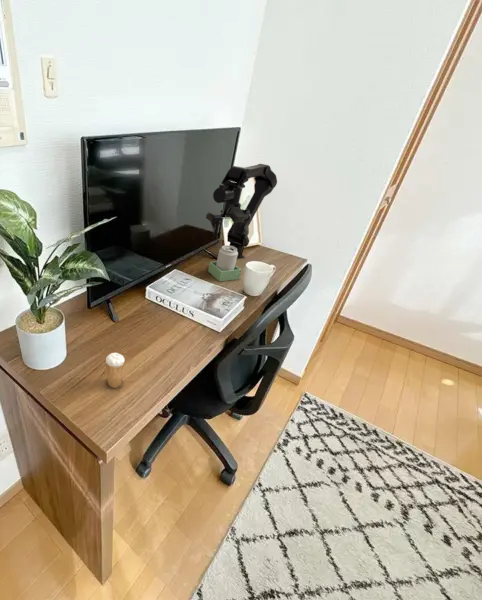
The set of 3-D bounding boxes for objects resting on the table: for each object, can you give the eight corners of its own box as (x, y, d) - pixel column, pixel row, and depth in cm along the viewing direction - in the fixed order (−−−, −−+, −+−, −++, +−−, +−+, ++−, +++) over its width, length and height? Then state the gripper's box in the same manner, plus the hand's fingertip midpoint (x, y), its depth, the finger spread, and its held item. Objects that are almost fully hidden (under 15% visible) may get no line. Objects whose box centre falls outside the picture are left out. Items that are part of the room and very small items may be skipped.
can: (235, 277, 134) (242, 250, 127) (220, 279, 132) (226, 252, 125) (226, 269, 140) (232, 243, 133) (211, 270, 138) (216, 244, 131)
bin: (226, 269, 141) (228, 259, 139) (238, 279, 134) (241, 269, 131) (207, 271, 138) (209, 261, 136) (219, 281, 131) (221, 271, 129)
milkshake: (119, 394, 79) (121, 364, 73) (101, 384, 81) (102, 355, 76) (129, 382, 82) (131, 353, 77) (111, 374, 84) (112, 345, 79)
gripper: (223, 205, 123) (215, 243, 131) (263, 204, 128) (253, 240, 136) (208, 198, 131) (202, 234, 140) (247, 196, 137) (238, 231, 145)
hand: (224, 235), depth 140 cm, fingers open, 9 cm apart
